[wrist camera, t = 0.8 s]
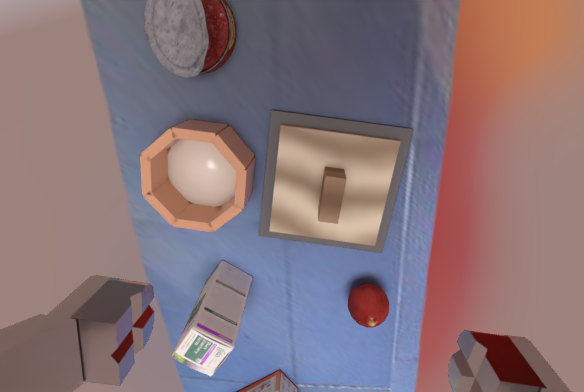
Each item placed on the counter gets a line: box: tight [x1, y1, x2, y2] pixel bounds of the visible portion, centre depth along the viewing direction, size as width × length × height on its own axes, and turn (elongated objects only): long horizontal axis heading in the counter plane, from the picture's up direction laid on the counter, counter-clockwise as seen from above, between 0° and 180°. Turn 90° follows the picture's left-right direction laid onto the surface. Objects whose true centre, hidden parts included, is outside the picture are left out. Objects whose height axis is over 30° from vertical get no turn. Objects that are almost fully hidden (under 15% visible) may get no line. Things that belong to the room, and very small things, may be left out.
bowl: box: [140, 119, 255, 232], centre depth 44 cm, size 13×13×6 cm
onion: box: [348, 284, 389, 327], centre depth 48 cm, size 6×6×8 cm
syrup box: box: [172, 260, 252, 376], centre depth 46 cm, size 6×6×14 cm
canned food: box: [144, 0, 236, 78], centre depth 38 cm, size 11×10×10 cm
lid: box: [269, 124, 401, 246], centre depth 43 cm, size 15×15×5 cm
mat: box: [259, 110, 414, 253], centre depth 46 cm, size 18×18×1 cm
